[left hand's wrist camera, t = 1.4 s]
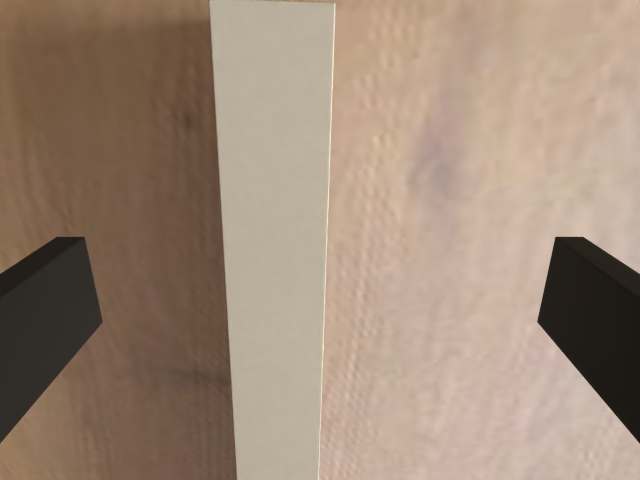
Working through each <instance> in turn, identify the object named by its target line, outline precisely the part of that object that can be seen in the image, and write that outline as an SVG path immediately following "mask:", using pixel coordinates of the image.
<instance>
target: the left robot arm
mask: <svg viewBox="0 0 640 480" xmlns="http://www.w3.org/2000/svg"><path fill="white" fill-rule="evenodd" d="M102 322H103V321H102V316H101V312H100V307H99V302H98V298H97V293H96V288H95V284H94V279H93V275H92V270H91V265H90V261H89V256H88V251H87V247H86V242H85V237H56V238H55V239H53V240H52V241H50V242H48V243H47V244H45V245H44V246H42V247H41V248H39V249H38V250H36V251H35V252H33V253H32V254H30V255H29V256H27V257H26V258H24V259H23V260H21V261H19V262H18V263H16V264H15V265H13V266H12V267H10V268H9V269H7V270H6V271H4V272H3V273H1V274H0V443H1V442H2V441H3V439H4V438H5V437H6V436H7V435H8V434H9V432H10V431H11V430H12V429H13V428H14V426H15V425H16V424H17V423H18V422H19V421H20V419H21V418H22V417H23V416H24V415H25V413H26V412H27V411H28V410H29V409H30V407H31V406H32V405H33V404H34V403H35V402H36V400H37V399H38V398H39V397H40V396H41V394H42V393H43V392H44V391H45V390H46V389H47V387H48V386H49V385H50V384H51V383H52V381H53V380H54V379H55V378H56V377H57V375H58V374H59V373H60V372H61V371H62V370H63V368H64V367H65V366H66V365H67V364H68V362H69V361H70V360H71V359H72V358H73V357H74V355H75V354H76V353H77V352H78V351H79V349H80V348H81V347H82V346H83V345H84V343H85V342H86V341H87V340H88V339H89V338H90V336H91V335H92V334H93V333H94V332H95V330H96V329H97V328H98V327H99V326H100V325H101V323H102ZM537 322H538V323H539V325H540V326H541V327H542V328H543V329H544V330H545V332H546V333H547V334H548V335H549V336H550V338H551V339H552V340H553V341H554V342H555V343H556V345H557V346H558V347H559V348H560V349H561V351H562V352H563V353H564V354H565V355H566V357H567V358H568V359H569V360H570V361H571V362H572V364H573V365H574V366H575V367H576V368H577V370H578V371H579V372H580V373H581V374H582V375H583V377H584V378H585V379H586V380H587V381H588V383H589V384H590V385H591V386H592V387H593V389H594V390H595V391H596V392H597V393H598V394H599V396H600V397H601V398H602V399H603V400H604V402H605V403H606V404H607V405H608V406H609V407H610V409H611V410H612V411H613V412H614V413H615V415H616V416H617V417H618V418H619V419H620V421H621V422H622V423H623V424H624V425H625V426H626V428H627V429H628V430H629V431H630V432H631V434H632V435H633V436H634V437H635V438H636V439H637V441H638V442H639V443H640V274H639V273H637V272H636V271H634V270H633V269H631V268H630V267H628V266H627V265H625V264H624V263H622V262H621V261H619V260H617V259H616V258H614V257H613V256H611V255H610V254H608V253H607V252H605V251H604V250H602V249H601V248H599V247H598V246H596V245H595V244H593V243H592V242H590V241H588V240H587V239H585V238H584V237H555V242H554V247H553V251H552V256H551V261H550V265H549V270H548V275H547V279H546V284H545V288H544V293H543V298H542V302H541V307H540V312H539V316H538V321H537Z"/></svg>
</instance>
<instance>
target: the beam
mask: <svg viewBox="0 0 640 480" xmlns="http://www.w3.org/2000/svg"><path fill="white" fill-rule="evenodd" d="M209 12H210V29H211V46H212V63H213V80H214V97H215V114H216V131H217V149H218V166H219V183H220V200H221V217H222V234H223V251H224V268H225V285H226V302H227V319H228V336H229V353H230V370H231V388H232V405H233V422H234V439H235V456H236V473H237V480H319V453H320V424H321V396H322V368H323V340H324V312H325V283H326V255H327V227H328V199H329V170H330V142H331V114H332V86H333V57H334V29H335V3H326V2H293V1H261V0H209Z"/></svg>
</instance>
